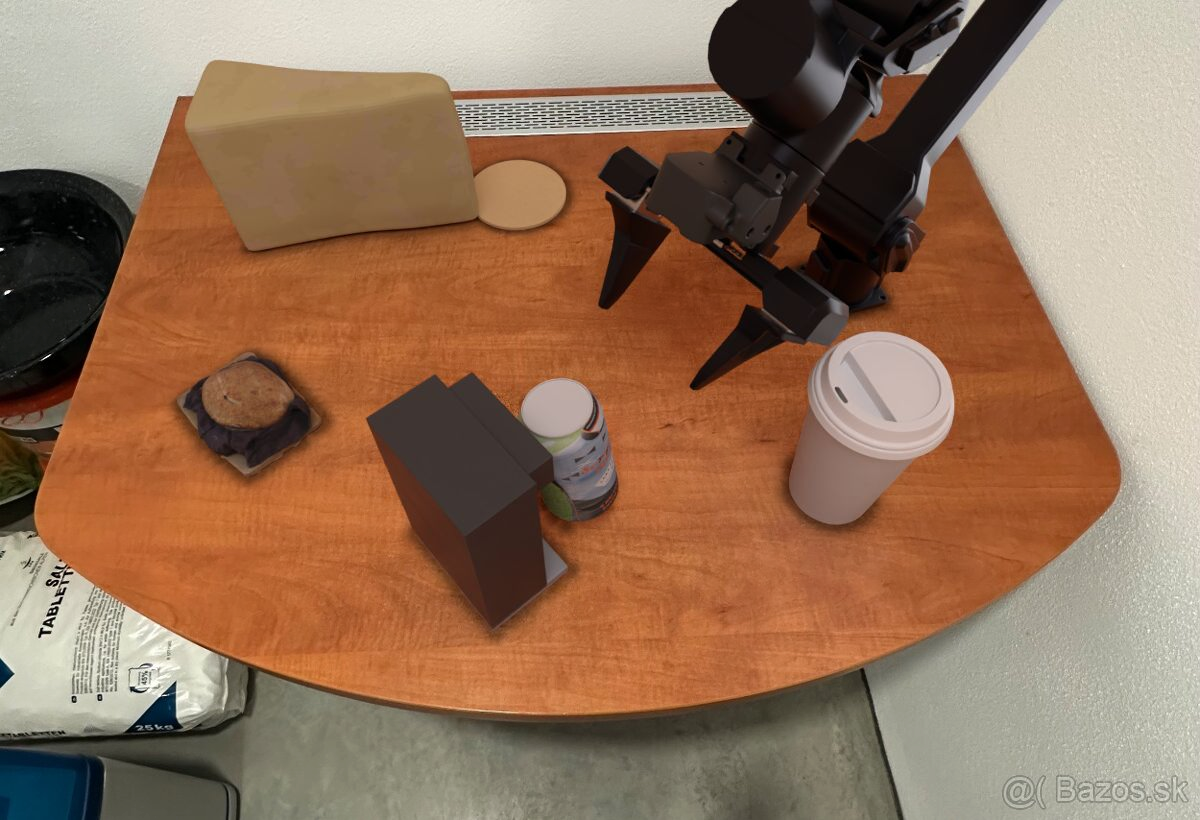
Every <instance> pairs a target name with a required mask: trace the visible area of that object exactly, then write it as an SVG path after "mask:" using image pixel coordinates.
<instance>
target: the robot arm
mask: <svg viewBox="0 0 1200 820" xmlns="http://www.w3.org/2000/svg"><path fill="white" fill-rule="evenodd" d="M970 1H971V0H736V1H735V2H734V3H732V4H731V5H730V6H726V7H725V9H724V10H723V11H722V12H721V14H720V15H719V17H718V18H717V20H716V22H715V24H714V26H713V28H712V30H711V34H710V36H709V41H708V45H707V63H708V69H709V72H710V75H711V77H712V79H713V81H714V82H715V83H716V85H717V86H718V87H719V88H720V89H721V90H722V91H723V92H724V93H725V94H726V95H728V97H730V98H731V100H733V101H734V102H735V103H736V104H737V105H738V106H740V107H741V108H742V109H743V110H744V111H745V112H746V113H747V114H748V115H750V117H752V120H751V122H749V124H748V125H747V127H746V128H745V130H744V131H743V133H742V134H740V133H738V132H737V131H735V130H732V131H731V133H730V134H729V135H726V137H724V139H723V140H722V142H721V143H720V145H719V146H718V147H717V148H716V149H715V150H714V151H713V152H707V151H703V150H695V151H680V152H679V151H678V152H677V151H676V152H667V153H666V154H665V155H664V157H663V160H662V163H661V164H659V163H658V162H656V161H654V160H652V159H651V158H649V157H647V156H646V155H644V154H642V153H641V152H639V151H638V150H636V149H634V148H632V147H631V146H629V145H626V146H623V147H622V148H620V149H617V150H616V151H614V152H612V153H611V154H609V155H608V157H607V158H606V160H605V161H604V163H603V165H602V166H601V168H600V169H599V172H598V173H597V175H596V176H597V178H598V179H599V180H601V182H603V183H604V184H605V185H607V186H608V187H609V188H610V189H612V190H613V191H612V192H611V191H609V190H605V192H604V200H605V201H607V203H609V204H610V206H611V211H612V217H613V222H614V232H613V240H612V245H611V251H610V255H609V258H608V262H607V265H606V266H607V267H606V272H605V274H604V275H605V276H604V278H603V282H602V286H601V290H600V293H599V298H598V301H597V305H598V307H599V308H600V309H602V310H606V311H608V310H610V309H611V308H612V307H613V306H614V305H615V304H616V303H617V301H619V300H620V298H621V297H622V296H623V295H624V294H625V292H626V291H627V290H628V289H629V287H630V286H631V285H632V283H633V282H634V281H635V279H636V278H637V277H638V275H639V274H640V273H641V271H643V269H644V267H645V266H646V265H647V264H648V262H649V261H650V260H651V258H652V257H653V256H654V255H655V253H656V252H657V251H658V250H659V248H660V247H661V245H663V242H665V240H666V239H667V238H668V236H669V235H670V234H671V232H672V229H671V228H670V227H669V226H668V225H667V224H666V223H664V222H663V221H662V218H663V217H664V218H665V219H666V220H668V221H669V222H670V223H671V224H672V225H674V226H675V227H676V228H677V229H678V232H679V234H680V235H681V236H682V237H684V238H685V239H687V240H688V241H690V242H692V243H694V244H698V245H702V246H703V247H704V248H706V249H707V250H708V251H709V252H711V253H712V254H713V255H714V256H715V257H717V258H718V259H719V260H721V261H722V262H723V263H725V264H726V265H727V266H728V267H730V268H731V269H732V270H734V271H735V273H737V274H739V275H740V276H741V277H743V278H744V279H745V280H746V281H748V282H749V283H750V284H751V285H753V286H754V287H755V288H757V290H759V291H760V292H761V300H762V307H761V308H760V307H758V306H755V305H753V304H748V303H746V304H745V305H744V307H743V310H742V313H741V315H740V317H739V320H738V322H737V324H736V326H735V327H734V328H733V329H732V330H731V332H730V333H729V334H728V335H727V337H726V338H725V339H724V340H723V341H722V342H721V344H719V346H718V347H717V348H716V349H715V351H713V353H712V354H711V355H710V356H709V357H708V359H707V360H706V361H705V362H704V364H703V365H702V366H701V367H700V368H699V370H698V371H697V372H696V374H695V375H694V377H693V379H692V380H691V382H690V384H689V385H688V386H689V387H688V388H689V389H691V390H692V391H700V390H702V389H704V388H705V387H707V386H708V385H710V384H712V383H713V382H715V381H717V380H718V379H720V378H722V377H724V376H725V375H726V374H728V373H730V372H731V371H733V370H734V369H736V368H738V367H739V366H741V365H743V364H744V363H746V362H748V361H749V360H752V359H753V358H755V357H756V356H758V355H761V354H762V353H765V352H767V351H770V350H771V349H773V348H775V347H778V346H779V345H782V344H785V343H786V342H788V343H792V344H797V345H800V346H805V345H806V344H808V343H812V344H816V345H819V346H824V347H828V348H831V346H832V344H833V343H834V341H835V340H836V339H837V338H838V337H839V336H840V334H841V333H842V332H843V331H844V330H845V328H846V327H847V324H848V322H849V320H850V314H852V313H856V312H860V311H864V310H868V309H871V308H872V309H873V308H876V307H879V306H884V305H886V304H887V302H888V301H889V297H888V295H887V294H886V293H885V291H884V289H883V288H882V287H881V286H882V284H883V281H884V279H885V277H886V276H887V275H888V274H889V273H892V274H893V273H904V271H906V270H907V269H908V267H909V264H910V263H911V260H912V257H913V255H914V254H915V253H916V252H917V251H918V250H919V249H920V247H921V243H922V242H923V240H924V238H925V237H926V234H927V233H926V232H925V231H924V230H923V229H922V228H921V227H920V226H919V225H918V224H917V223H916V220H917V218H919V216H920V215H921V213H922V212H923V211H924V209H925V208H926V205H927V204H926V203H927V197H928V189H929V183H930V177H931V170H932V168H933V166H934V165H935V163H936V162H937V161H938V160H939V158H940V157H941V156H942V155H943V153H944V152H945V151H946V149H947V148H948V147H949V146H950V144H951V143H952V142H953V140H954V139H955V138H956V137H957V136H958V134H959V133H960V132H961V130H962V129H963V128H964V127H965V125H966V124H967V123H968V122H969V120H970V119H971V118H972V117H973V115H974V114H975V113H976V111H978V109H980V106H981V105H982V104H983V103H984V102H985V100H986V99H987V98H988V97H989V96H990V94H991V93H992V91H993V90H994V89H995V87H996V86H997V85H998V83H999V82H1000V81H1001V80H1002V79H1003V77H1004V76H1005V75H1006V74H1007V72H1008V71H1009V70H1010V68H1011V67H1012V66H1013V65H1014V63H1015V62H1016V61H1017V60H1018V58H1019V57H1020V56H1021V54H1022V53H1023V52H1024V51H1025V50H1026V48H1027V47H1028V46H1029V44H1030V43H1031V42H1032V40H1034V38H1035V37H1036V35H1037V34H1038V33H1039V32H1040V30H1041V29H1042V28H1043V26H1044V25H1045V24H1046V23H1047V22H1048V20H1049V19H1050V18H1051V16H1052V15H1053V14H1054V13H1055V11H1056V10H1057V9H1058V8H1059V6H1060V5H1061V4H1062V3H1063V2H1064V1H1065V0H983V1H982V2H981V4H980V5H979V6H978V8H977V9H976V10H975V12H974V13H973V14H972V16H971V17H970V19H968V21H967V22H966V23H965V25H964V26H963V28H962V25H963V22H964V19H965V16H966V13H967V10H968V7H969V4H970ZM939 57H940V58H939ZM938 58H939V60H938V61H937V62H936V64H935V65H934V66H933V67H932V69H931V70H930V71H929V73H928V74H927V76H926V77H925V78H924V79H923V81H922V82H921V84H920V85H919V86H918V87H917V89H916V90H915V91H914V93H913V94H912V95H911V96H910V98H909V99H908V101H907V102H906V103H905V104H904V106H903V107H902V109H900V111H899V112H898V114H897V115H896V116H895V118H894V119H893V120H892V122H891V123H890V124H889V126H888V127H887V128H886V130H884V132H882V133H879V134H877V135H875V136H872V137H871V138H868V139H866V140H863V139H860V138H858V137H857V138H854V136H855V135H856V134H857V132H858V131H859V130H860V128H861V127H862V125H864V123H865V122H866V120H867V119H868V117H870V118H872V119H875V118H877V117H878V116H879V114H880V113H881V110H882V107H883V103H884V102H883V101H884V100H883V94H882V88H883V87H882V85H883V82H884V79H885V76H887V78H888V77H889V78H893V77H896V76H898V75H899V76H900V75H901V74H902V75H904V76H906V75H908V74H911V73H914V72H915V71H917V70H919V69H920V68H922V67H924V66H925V65H927V64H930V63H932V62H933V61H935V60H936V59H938ZM853 138H854V139H853ZM804 204H805V205H806V226H807V227H809V228H810V229H814V230H815V231H816V232H818V233H819V234H820V235H819V237H818V239H817V243H816V246H815V249H812V250H811V252H810V254H809V256H808V260H807V263H802V264H800V265H798V266H797V268H796V269H794V268H792V267H791V266H789V265H786V266H784V267H783V268H782V269H781V268H779V267H778V266H777V265H776V264H774V263H773V262H771V259H773V257H774V256H775V255H776V254H777V252H778V250H779V249H780V248H781V245H779V244H778V243H777V241H778V239H779V238H780V237H781V236H782V234H783V233H784V232H785V230H786V229H787V227H788V226H789V224H790V223H791V222H792V221H793V219H794V218H795V217H796V215H797V214H798V212H799V211H800V210H801V208H802V207H803V205H804ZM733 243H735V244H736V245H737V246H738V247H739V249H738V247H737V246H735V245H734V244H733ZM740 249H741V250H742V251H744V252H742V251H741V250H740ZM767 258H768V259H767Z"/></svg>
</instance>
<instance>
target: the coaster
mask: <svg viewBox="0 0 1200 820" xmlns="http://www.w3.org/2000/svg"><path fill="white" fill-rule="evenodd" d="M474 182H475V187H476V193H477V199H478V205H479V212H478V216H477V217H476V218H477V219H479V220H480V222H483V223H484V224H486V225H489V226H491V227H493V228H496V229H500V230H505V231H526V230H531V229H535V228H538V227H541V226H543V225H545V224H548V223H549V222H550V221H552V220H554V219H555V218H556V217H557V216H558V215H559V213H560V212H561V211H562V209H563V208H564V206H565V204H566V200H567V189H566V188H567V187H566V184H565V182H564V180H563V178H562V177H561V175H560V174H558V172H556V171H555V170H553V168H550V167H549V166H547V165H544V164H543V163H540V162H537V161H534V160H533V161H532V160H525V159H511V160H504V161H501V162H497V163H494V164H491V165H490V166H488V167H486V168H484V169H482V170H481V171H480V172H479V173H477V174H476V175H475V176H474Z"/></svg>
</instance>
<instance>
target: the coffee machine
mask: <svg viewBox="0 0 1200 820" xmlns="http://www.w3.org/2000/svg"><path fill="white" fill-rule="evenodd" d="M505 405H506V404H504V403H503V402H502V401H501V400H500V398H498V397H497V396H496V395H495V394H494V393H493V392H492V390H491V389H490V388H489V387H488V386H487V385H485V383H483V381H482V380H481V379H480V378H479V376H477V375H476V374H475V373H474V372H472V371H471V372H470V373H468V374H467V375H465V376H464V377H462V378H461V379H459V380H457V381H456V382H454V383H453V384H450V386H447V385H446V384H445V382H443V380H442V379H441V378H440V377H439V376H438V375H437V374H433V375H431V376H429V377H428V378H426V379H425V380H424V381H422V382H420V383H419V384H417V385H415V386H414V387H413V388H411V389H409V390H408V391H406V392H405V393H403V394H401V395H400V396H397V398H394V399H393V400H391V401H390V402H389V403H387V404H385V405H384V406H382V407H381V408H379V409H378V410H376V411H374V412H373V413H371V414H369V415H368V416H366V417H365V421H366V424H367V425H368V427H369V431H370V432H371V435H372V437H373V440H374V442H375V444H376V446H377V449H378V451H379V453H380V456H381V458H382V460H383V463H384V466H385V467H386V470H387V472H388V475H389V477H390V479H391V482H392V484H393V486H394V488H395V491H396V493H397V496H398V499H399V500H400V503H401V506H402V507H403V511H404V512H405V514H406V517H407V520H408V521H409V525H410V526H411V529H412V531H413V534H414V535H415V537H417V539H418V540H419V542H420V543H421V544H422V545H423V546H424V548H425V549H426V550H427V551H428V553H429V554H430V555H431V556H432V557H433V559H434V560H435V562H436V563H437V564H438V565H439V566H440V568H441V569H442V570H443V571H444V572H445V574H446V575H447V576H448V577H449V579H450V580H451V581H452V582H453V584H454V585H455V586H456V587H457V589H458V590H459V591H460V592H461V594H462V595H463V596H464V597H465V598H466V600H467V601H468V603H469V604H470V605H471V607H473V608H474V610H475V611H476V613H478V614H479V616H480V617H481V618H482V620H483V621H484V622H485V624H486V625H487V626H488V627H489V628H490V630H491V631H492V632H495V631H496V630H497V629H499V628H500V627H501V626H502V625H503V624H505V623H506V622H507V621H508V620H510V619H511V618H512V617H513V616H515V615H516V614H517V613H519V612H520V611H521V610H522V609H524V608H525V607H526V606H527V605H528V604H530V603H531V602H532V601H533V600H534V599H536V598H537V597H539V595H541V594H542V593H544V592H545V591H546V590H547V589H548V588H549V587H551V586H552V585H553V584H554V583H556V582H557V581H558V580H559V579H561V578H562V577H564V575H566V574H567V573H568V572H569V566H568V564H566V562H565V561H564V560H563V559H562V557H560V556H559V554H558V553H557V552H556V551H555V550H554V549H553V547H552V546H550V544H549V543H548V542H547V541H546V540H545V539H544V538H543V533H542V532H543V531H542V523H541V514H540V502H539V494H538V493H539V492H540V490H542V489H543V488H544V487H546V486H547V485H548V484H550V483H551V482H552V481H554V465H553V455H552V454H551V453H550V452H549V451H548V450H547V449H546V448H545V447H544V446H543V445H542V444H541V443H540V442H539V441H538V440H537V439H536V438H535V437H534V436H533V435H532V434H531V433H530V431H529V430H528V429H527V428H526V427H525V426H524V425H523V424H522V423H521V422H520V421H519V420H518V417H516V415H515V414H514V413H513V412H511V410H509V408H508V407H507V406H505Z"/></svg>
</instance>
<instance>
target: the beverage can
mask: <svg viewBox="0 0 1200 820" xmlns="http://www.w3.org/2000/svg"><path fill="white" fill-rule="evenodd" d="M605 416H606V415H605V411H604V408H603V405H602V403H601V401H600V399H599V398H598V396H597V395H596V394H594V392H592V391H591V390H590V389H588V388H587V387H586V386H585V385H583V383H581V382H580V381H577V380H575V379H571V378H566V377H558V378H552V379H548V380H545V381H543V382H540V383H539V384H537V385H535V386H534V387H533V388H532V389H530V391H529V392H528V393H527V394H526V395H525V397H524V399H523V401H522V403H521V407H520V409H519V412H518V415H517V419H518V420H519V421H520V422H521V423H522V424H523V425H524V426H525V427H526V428H527V429H528V430H529V431H530V433H531V434H532V435H533V436H534V437H535V438H536V439H537V440H538V441H539V442H540V443H541V444H542V445H543V446H544V447H545V448H546V449H547V450H548V451H549V452H550V453H551V454H552V455H553V465H554V481H552V482H551V483H550V484H548V485H547V486H546V487H544V488H543V489H542V490H540V491H539V492H540V496H541V498H542V501H543V504H544V505H545V507H546V508H547V510H548V511H549V512H550V513H552V515H554V516H555V517H557V518H559V519H561V520H564V521H566V522H573V523H579V522H582V523H583V522H587V521H591V520H594V519H596V518H598V517H599V516H602V515H603V514H604V513H605V512H606V511H607V510H609V509H610V508H611V506H612V505H613V504H614V502H615V501H616V500H615V499H616V498H617V496H618V493H619V478H618V473H617V469H616V463H615V458H614V454H613V449H612V445H611V440H610V435H609V431H608V425H607V421H606V417H605Z"/></svg>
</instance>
